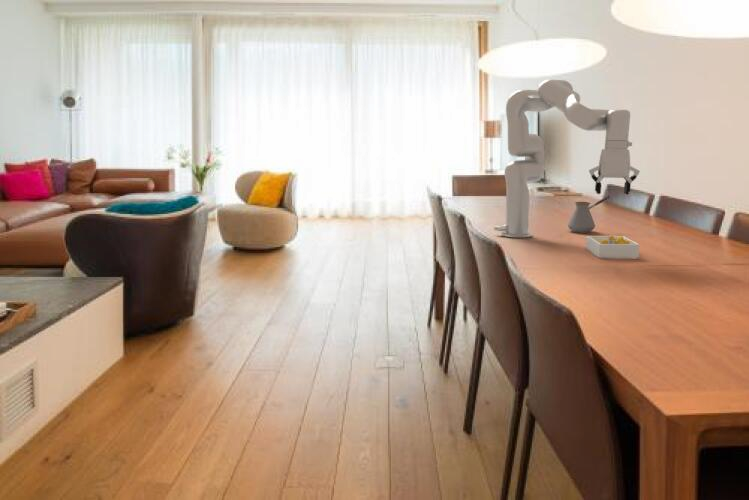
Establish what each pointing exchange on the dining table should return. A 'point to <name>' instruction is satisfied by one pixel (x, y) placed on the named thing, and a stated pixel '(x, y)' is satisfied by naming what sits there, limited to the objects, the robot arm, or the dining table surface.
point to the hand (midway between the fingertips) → (612, 193)
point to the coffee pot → (583, 217)
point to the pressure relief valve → (614, 240)
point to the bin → (612, 248)
